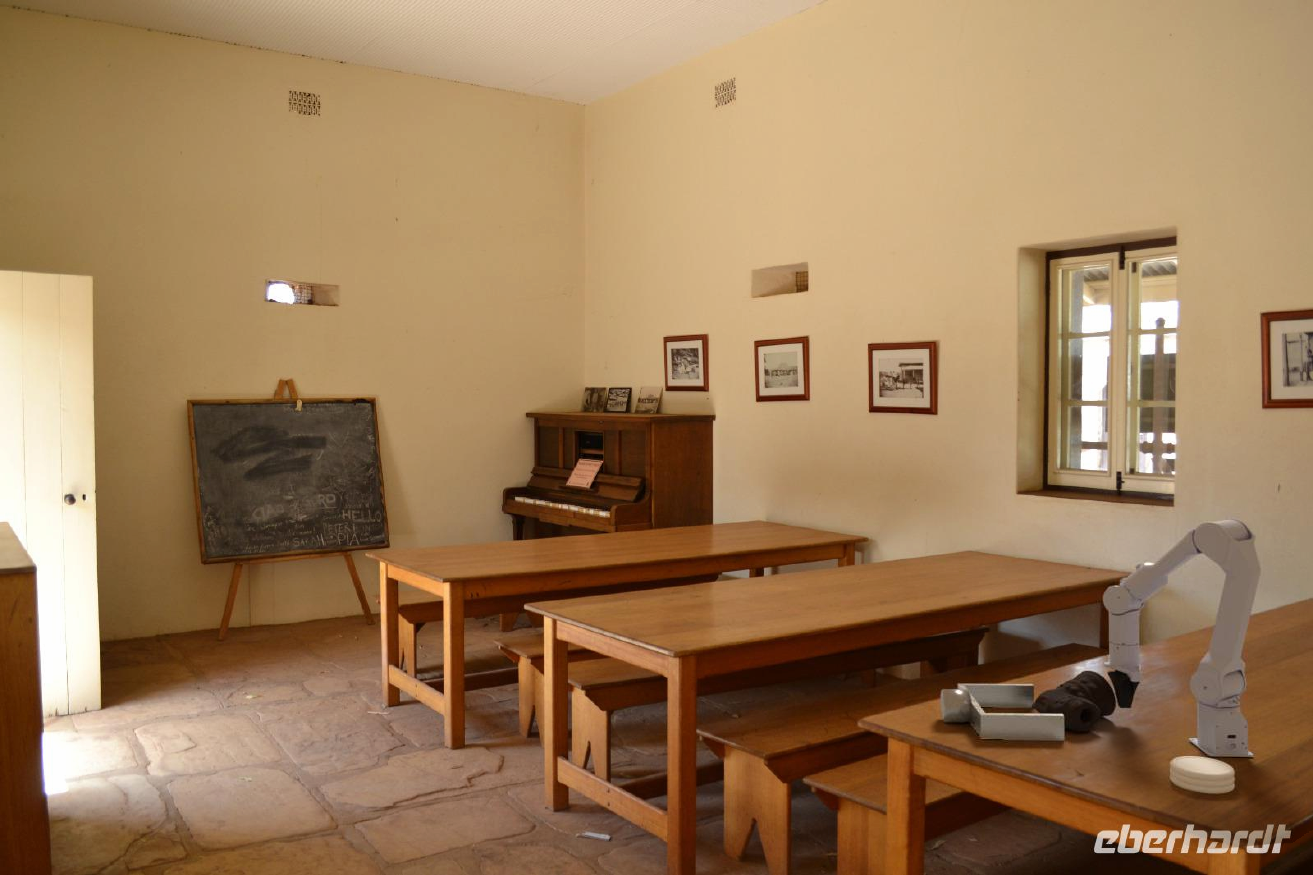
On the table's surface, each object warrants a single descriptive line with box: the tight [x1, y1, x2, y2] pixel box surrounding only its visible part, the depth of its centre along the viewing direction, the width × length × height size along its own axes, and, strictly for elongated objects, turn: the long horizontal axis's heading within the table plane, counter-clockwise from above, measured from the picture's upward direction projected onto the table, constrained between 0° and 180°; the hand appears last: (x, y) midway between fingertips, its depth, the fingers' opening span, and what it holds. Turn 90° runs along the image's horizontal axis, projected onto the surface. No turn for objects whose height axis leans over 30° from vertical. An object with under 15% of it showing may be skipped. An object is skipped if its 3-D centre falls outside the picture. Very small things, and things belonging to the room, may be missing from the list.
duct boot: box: [940, 683, 1065, 742], centre depth 214 cm, size 23×21×7 cm
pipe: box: [1031, 670, 1117, 733], centre depth 213 cm, size 10×15×15 cm
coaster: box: [1169, 755, 1236, 795], centre depth 177 cm, size 10×10×4 cm
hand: (1124, 707), depth 211 cm, fingers closed
